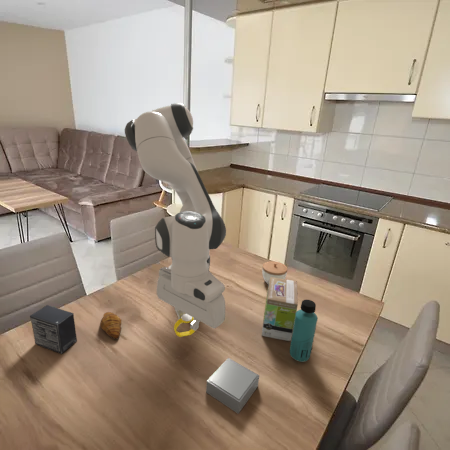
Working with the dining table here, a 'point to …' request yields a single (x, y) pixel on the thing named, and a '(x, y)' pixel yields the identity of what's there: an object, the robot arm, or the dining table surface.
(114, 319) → the croissant
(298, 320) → the beverage bottle
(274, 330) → the tea box
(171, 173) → the robot arm
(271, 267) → the lidded jar
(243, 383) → the base
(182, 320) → the yellow ring-shaped piece
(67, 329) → the small box
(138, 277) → the dining table surface
